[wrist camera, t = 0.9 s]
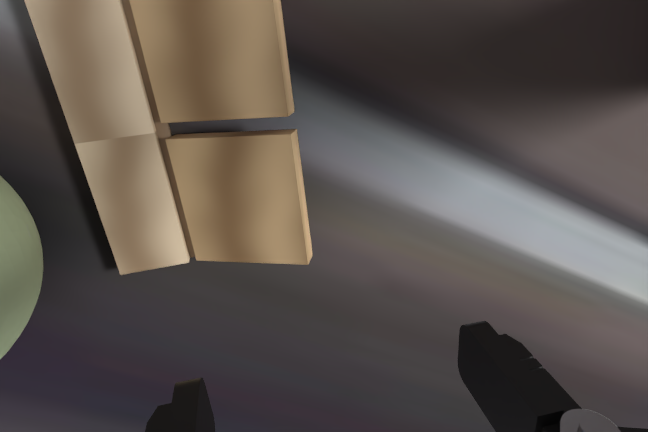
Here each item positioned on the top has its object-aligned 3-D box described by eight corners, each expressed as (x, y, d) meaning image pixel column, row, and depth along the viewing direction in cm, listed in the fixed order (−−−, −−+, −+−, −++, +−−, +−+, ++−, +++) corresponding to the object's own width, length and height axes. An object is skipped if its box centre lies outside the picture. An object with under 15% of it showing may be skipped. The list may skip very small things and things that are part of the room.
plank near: (272, -63, 21) (264, -67, 20) (294, 111, 24) (288, 116, 23) (132, -40, 23) (118, -42, 22) (171, 118, 26) (161, 123, 25)
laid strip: (128, -40, 23) (122, -43, 22) (201, 252, 30) (199, 260, 29) (23, -31, 22) (12, -34, 21) (124, 265, 30) (120, 274, 28)
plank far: (296, 129, 25) (290, 134, 24) (312, 255, 28) (307, 264, 27) (175, 134, 27) (165, 139, 26) (204, 251, 30) (196, 260, 29)
